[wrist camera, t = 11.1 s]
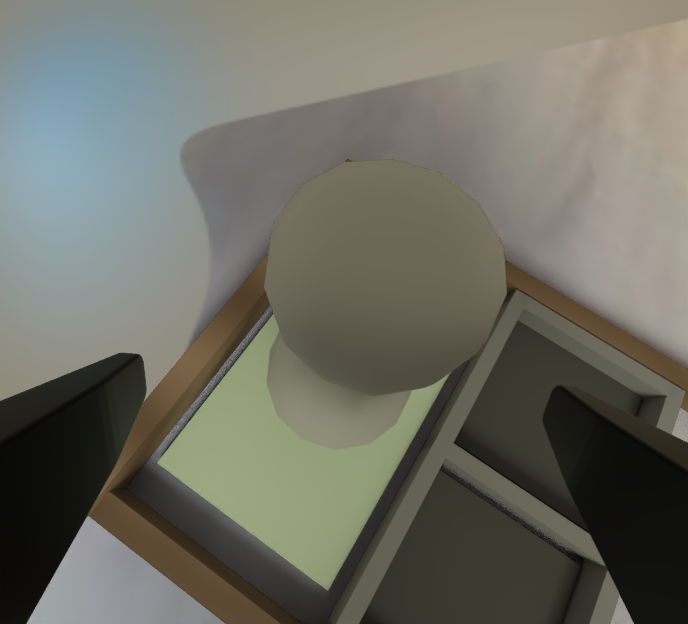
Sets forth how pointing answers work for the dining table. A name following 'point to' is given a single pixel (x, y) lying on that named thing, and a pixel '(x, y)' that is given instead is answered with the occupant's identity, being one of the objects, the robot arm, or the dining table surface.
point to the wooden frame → (186, 385)
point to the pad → (287, 467)
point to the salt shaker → (375, 296)
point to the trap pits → (502, 489)
